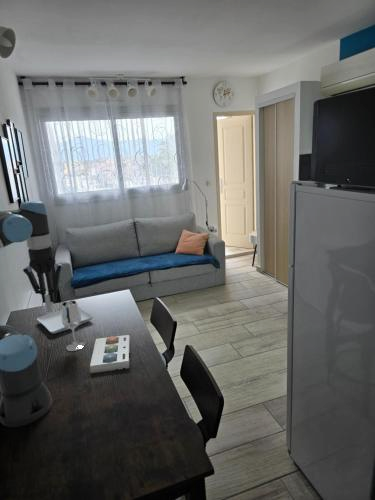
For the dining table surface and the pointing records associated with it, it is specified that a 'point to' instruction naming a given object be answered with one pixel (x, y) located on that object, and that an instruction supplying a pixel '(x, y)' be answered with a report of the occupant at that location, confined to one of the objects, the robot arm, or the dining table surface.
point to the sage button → (111, 348)
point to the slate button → (110, 357)
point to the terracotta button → (112, 340)
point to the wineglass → (71, 322)
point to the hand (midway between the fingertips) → (50, 310)
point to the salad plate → (55, 322)
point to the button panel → (121, 353)
